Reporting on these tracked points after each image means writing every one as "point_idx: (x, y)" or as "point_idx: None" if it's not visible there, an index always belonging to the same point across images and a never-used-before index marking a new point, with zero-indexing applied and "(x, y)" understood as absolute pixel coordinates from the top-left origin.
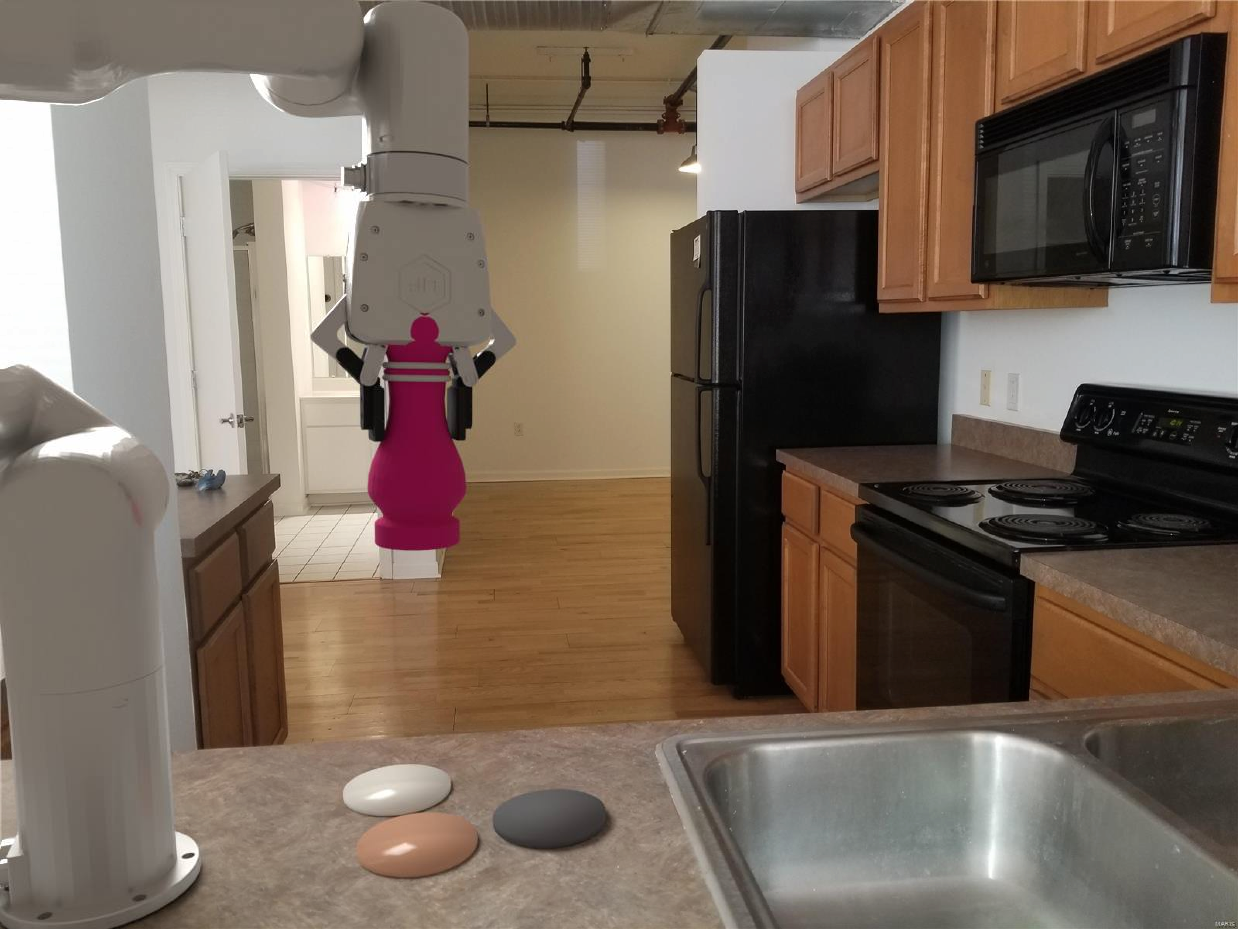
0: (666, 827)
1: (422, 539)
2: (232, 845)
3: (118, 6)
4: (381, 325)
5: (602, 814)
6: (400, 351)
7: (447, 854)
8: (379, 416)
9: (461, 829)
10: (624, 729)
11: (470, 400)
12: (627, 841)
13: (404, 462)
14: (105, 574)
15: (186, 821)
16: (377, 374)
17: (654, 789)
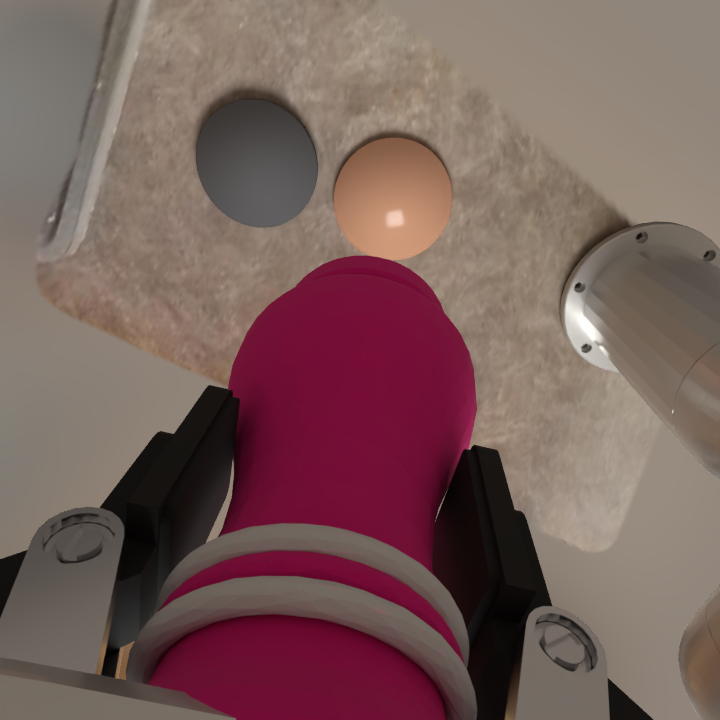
0: (154, 68)
1: (389, 265)
2: (526, 307)
3: None
4: None
5: (209, 122)
6: None
7: (381, 155)
8: (496, 493)
9: (347, 195)
10: (90, 309)
11: (124, 487)
12: (207, 68)
13: (428, 354)
14: None
15: (539, 373)
16: (529, 645)
17: (125, 157)
